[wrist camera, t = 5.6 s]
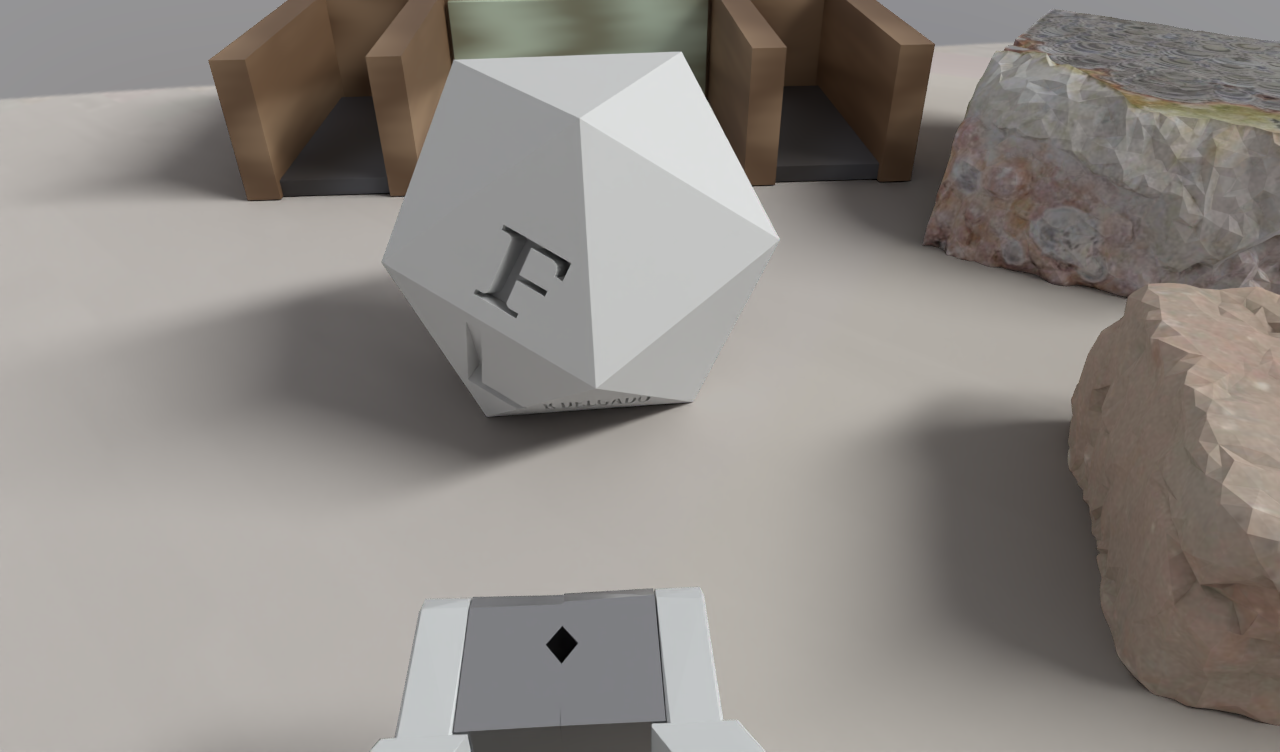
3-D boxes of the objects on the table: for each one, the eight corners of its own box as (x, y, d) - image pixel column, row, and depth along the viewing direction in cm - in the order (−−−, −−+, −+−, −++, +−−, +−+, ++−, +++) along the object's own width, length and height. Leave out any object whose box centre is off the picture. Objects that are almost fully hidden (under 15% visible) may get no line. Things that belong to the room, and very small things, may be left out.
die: (372, 368, 24) (243, 186, 15) (541, 142, 27) (519, -131, 17) (626, 521, 23) (654, 429, 14) (775, 272, 26) (881, 56, 16)
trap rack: (247, 200, 32) (208, 60, 29) (326, 99, 42) (303, -12, 39) (910, 180, 33) (934, 44, 30) (833, 86, 43) (845, -23, 40)
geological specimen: (1366, 41, 31) (1408, 141, 20) (1289, 201, 34) (1290, 360, 24) (1055, -1, 36) (955, 63, 25) (1014, 144, 39) (909, 255, 28)
